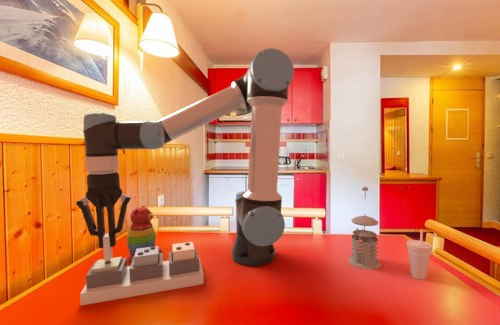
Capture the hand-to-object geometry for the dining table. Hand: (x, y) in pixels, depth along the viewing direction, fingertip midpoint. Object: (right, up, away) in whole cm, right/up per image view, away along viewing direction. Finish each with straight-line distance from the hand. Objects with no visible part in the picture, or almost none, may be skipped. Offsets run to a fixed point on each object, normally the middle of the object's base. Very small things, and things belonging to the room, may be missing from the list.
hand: (108, 258), depth 69 cm
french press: (+75, -7, +14) cm, 77 cm away
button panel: (+9, -8, +4) cm, 13 cm away
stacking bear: (+1, -8, +21) cm, 22 cm away
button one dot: (0, -5, 0) cm, 5 cm away
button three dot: (+9, -3, +3) cm, 10 cm away
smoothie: (+88, -7, +5) cm, 88 cm away
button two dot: (+19, -3, +6) cm, 20 cm away
